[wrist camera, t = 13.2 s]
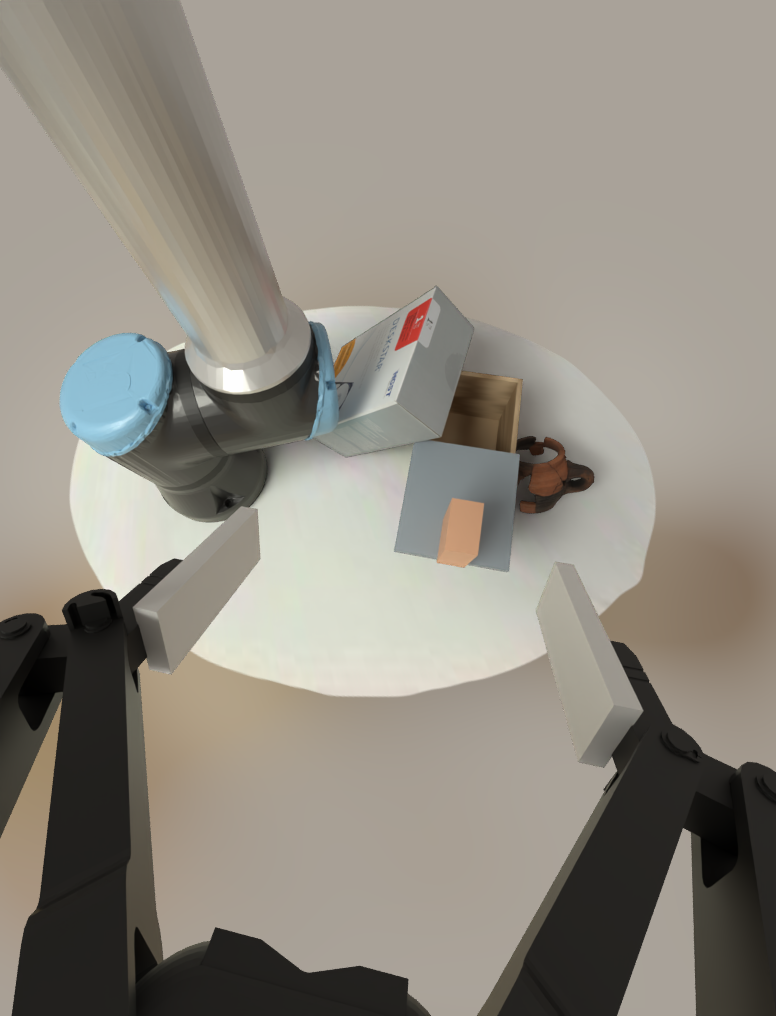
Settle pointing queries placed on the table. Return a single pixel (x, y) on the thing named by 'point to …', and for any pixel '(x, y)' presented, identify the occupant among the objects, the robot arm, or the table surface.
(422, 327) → the hard drive box
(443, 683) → the table surface
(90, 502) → the table surface
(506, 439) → the carton
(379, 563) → the table surface
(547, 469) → the pottery mug
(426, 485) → the lid
